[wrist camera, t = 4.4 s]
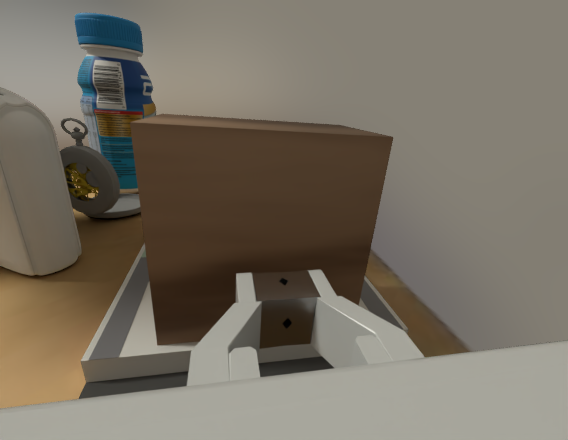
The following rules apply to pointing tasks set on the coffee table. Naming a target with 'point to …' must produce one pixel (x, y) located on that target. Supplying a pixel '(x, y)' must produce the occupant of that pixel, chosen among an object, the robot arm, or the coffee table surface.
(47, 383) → the coffee table surface
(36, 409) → the robot arm
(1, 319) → the coffee table surface
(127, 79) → the beverage bottle
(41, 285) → the coffee table surface
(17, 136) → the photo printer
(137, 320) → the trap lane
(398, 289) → the coffee table surface
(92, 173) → the pocket watch
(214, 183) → the walnut block
